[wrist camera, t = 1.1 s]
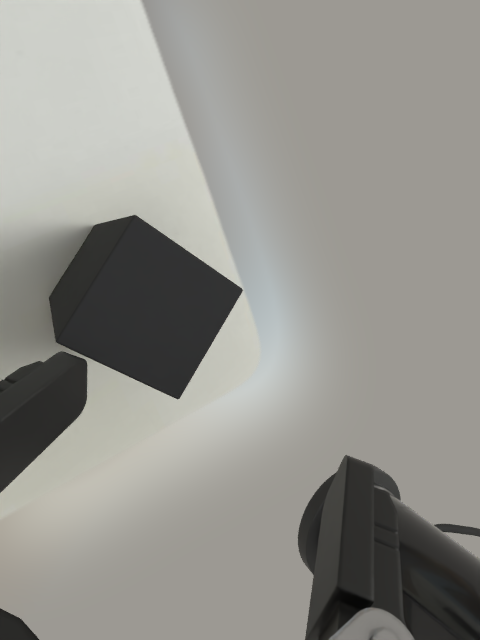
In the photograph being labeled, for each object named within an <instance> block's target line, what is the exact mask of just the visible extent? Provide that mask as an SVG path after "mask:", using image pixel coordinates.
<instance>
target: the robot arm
mask: <svg viewBox="0 0 480 640" xmlns="http://www.w3.org/2000/svg"><path fill="white" fill-rule="evenodd" d="M86 400H87V362H86V360H85V359H82V358H79V357H77V356H74V355H71V354H69V353H66V352H58V353H56V354H55V355H54V356H52V357H51V358H49V359H48V360H46V361H45V362H44V363H43V362H40V361H38V362H35V363H32V364H30V365H27V366H24V367H21V368H19V369H18V370H16V371H15V372H13V373H12V374H10V375H9V376H7V377H6V378H5V380H2V381H0V493H1V492H2V491H3V490H4V489H5V488H6V487H7V486H8V485H9V484H10V483H11V482H12V481H13V480H14V479H15V478H16V477H17V476H18V475H19V474H20V473H21V472H22V471H23V470H24V469H25V468H26V467H27V466H28V465H29V464H30V463H31V462H32V461H33V460H35V459H36V458H37V457H38V456H39V455H40V454H41V453H42V452H43V451H44V450H45V449H46V448H47V447H48V446H49V445H50V444H51V443H52V442H53V441H54V440H55V439H56V438H57V437H58V436H59V435H60V434H61V433H62V432H63V431H64V430H65V429H66V428H67V427H68V426H69V425H70V424H71V423H73V422H74V421H75V420H76V419H77V418H78V416H79V415H80V414H81V412H82V411H83V409H84V406H85V404H86ZM444 532H452V533H460V534H468V535H475V536H479V537H480V529H477V528H473V527H466V526H459V525H452V524H437V525H433V524H431V523H430V522H429V521H427V520H426V519H424V518H423V517H421V516H420V515H419V514H418V513H416V512H415V511H414V510H412V509H411V508H410V507H408V506H407V505H405V504H404V503H403V502H401V501H400V500H399V499H397V498H396V497H394V495H393V494H392V493H391V492H389V491H388V490H387V489H385V488H384V487H382V486H381V485H379V484H376V483H374V467H373V465H372V464H369V463H366V462H364V461H361V460H358V459H355V458H353V457H350V456H347V455H346V456H345V457H344V458H343V460H342V462H341V464H340V467H339V469H338V471H337V473H336V475H335V478H334V480H333V482H332V484H331V486H330V488H329V491H328V493H327V496H326V499H325V503H324V507H323V511H322V518H321V525H320V533H319V538H318V548H317V555H316V563H315V570H314V578H313V585H312V593H311V600H310V607H309V616H308V623H307V630H306V638H305V640H480V559H479V558H478V557H476V556H475V555H474V554H472V553H471V552H470V551H468V550H467V549H465V548H464V547H463V546H461V545H460V544H459V543H457V542H456V541H455V540H453V539H452V538H450V537H449V536H448V535H446V534H445V533H444ZM0 640H39V639H38V638H37V636H36V635H35V634H34V633H33V632H32V631H31V630H30V629H29V628H28V626H27V625H26V624H25V623H24V622H23V621H22V620H21V619H20V618H18V617H16V616H14V615H12V614H10V613H8V612H6V611H4V610H2V609H0Z"/></svg>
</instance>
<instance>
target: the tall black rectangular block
mask: <svg viewBox="0 0 480 640" xmlns="http://www.w3.org/2000/svg"><path fill="white" fill-rule="evenodd" d="M242 291H243V290H242V288H240V287H239V286H237V285H236V284H234V283H233V282H232V281H230V280H229V279H227V278H226V277H224V276H223V275H221V274H220V273H219V272H217V271H216V270H214V269H213V268H211V267H210V266H208V265H207V264H206V263H204V262H203V261H201V260H200V259H198V258H197V257H195V256H194V255H193V254H191V253H190V252H188V251H187V250H185V249H184V248H182V247H181V246H180V245H178V244H177V243H175V242H174V241H172V240H171V239H169V238H168V237H167V236H165V235H164V234H162V233H161V232H159V231H158V230H156V229H155V228H154V227H152V226H151V225H149V224H148V223H146V222H145V221H143V220H142V219H140V218H139V217H138V216H136V215H133V216H129V217H125V218H121V219H117V220H113V221H109V222H105V223H101V224H97V225H94V227H93V228H92V230H91V232H90V233H89V235H88V236H87V238H86V240H85V241H84V243H83V244H82V246H81V248H80V249H79V251H78V252H77V254H76V255H75V257H74V259H73V260H72V262H71V263H70V265H69V267H68V268H67V270H66V271H65V273H64V275H63V276H62V278H61V279H60V281H59V282H58V284H57V286H56V287H55V289H54V290H53V292H52V294H51V295H50V297H49V301H50V307H51V314H52V320H53V326H54V333H55V339H56V342H57V343H58V344H60V345H63V346H65V347H67V348H69V349H71V350H73V351H75V352H78V353H80V354H82V355H84V356H86V357H88V358H90V359H93V360H95V361H97V362H99V363H101V364H103V365H105V366H107V367H110V368H112V369H114V370H116V371H118V372H120V373H122V374H125V375H127V376H129V377H131V378H133V379H135V380H137V381H140V382H142V383H144V384H146V385H148V386H150V387H152V388H154V389H157V390H159V391H161V392H163V393H165V394H167V395H169V396H172V397H174V398H176V399H179V398H180V397H181V395H182V393H183V392H184V390H185V388H186V387H187V385H188V383H189V381H190V380H191V378H192V376H193V375H194V373H195V371H196V370H197V368H198V366H199V364H200V363H201V361H202V359H203V358H204V356H205V354H206V353H207V351H208V349H209V347H210V346H211V344H212V342H213V341H214V339H215V337H216V335H217V334H218V332H219V330H220V329H221V327H222V325H223V324H224V322H225V320H226V318H227V317H228V315H229V313H230V312H231V310H232V308H233V307H234V305H235V303H236V301H237V300H238V298H239V296H240V295H241V293H242Z"/></svg>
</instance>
